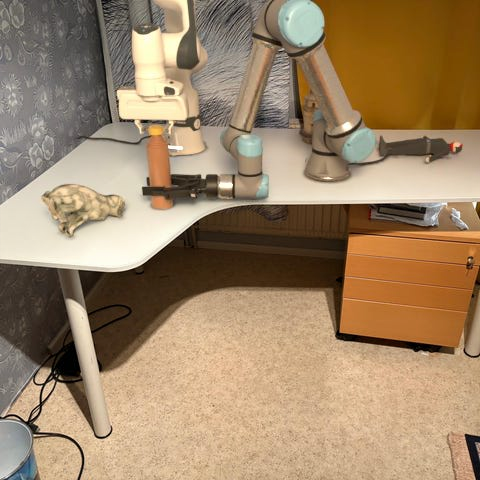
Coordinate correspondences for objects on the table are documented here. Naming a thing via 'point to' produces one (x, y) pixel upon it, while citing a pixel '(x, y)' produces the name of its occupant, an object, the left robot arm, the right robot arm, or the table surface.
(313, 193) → the table surface
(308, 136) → the miniature building
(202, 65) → the left robot arm
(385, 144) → the toy
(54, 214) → the figurine
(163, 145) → the bottle
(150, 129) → the cap
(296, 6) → the right robot arm
